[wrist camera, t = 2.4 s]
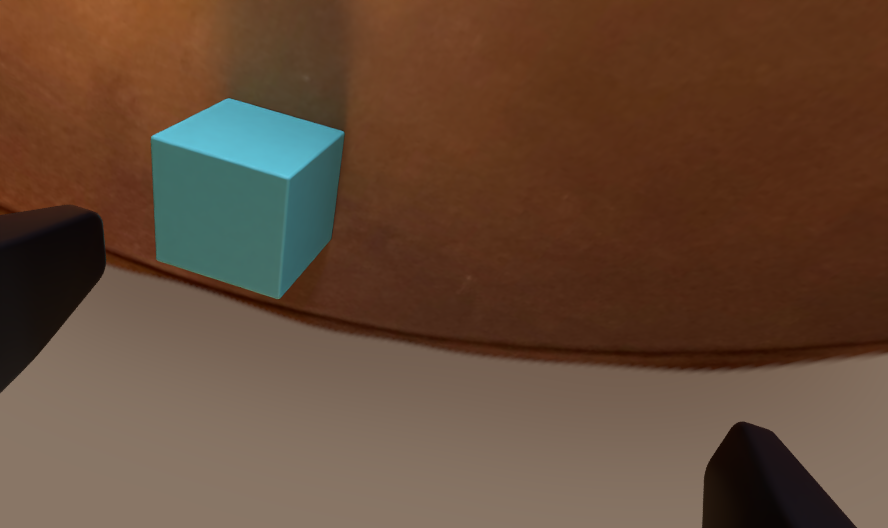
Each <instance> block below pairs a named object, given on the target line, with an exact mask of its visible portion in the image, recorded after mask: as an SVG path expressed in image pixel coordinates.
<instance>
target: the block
mask: <svg viewBox="0 0 888 528" xmlns="http://www.w3.org/2000/svg"><path fill="white" fill-rule="evenodd" d="M344 135H345V134H344V132H343V131H340V130H337V129H334V128H330V127H327V126H323V125H320V124H316V123H313V122H309V121H306V120H303V119H299V118H296V117H292V116H289V115H285V114H282V113H279V112H275V111H272V110H268V109H265V108H261V107H258V106H254V105H251V104H248V103H244V102H241V101H237V100H234V99H230V98H227V99H225V100H223V101H221V102H219V103H217V104H215V105H213V106H211V107H209V108H207V109H205V110H203V111H201V112H199V113H197V114H195V115H193V116H191V117H189V118H187V119H185V120H183V121H181V122H179V123H177V124H175V125H173V126H171V127H169V128H167V129H165V130H163V131H161V132H159V133H157V134H155V135H153V136H152V137H151V154H152V176H153V197H154V219H155V241H156V259H157V260H158V261H160V262H164V263H167V264H170V265H173V266H176V267H179V268H182V269H185V270H188V271H192V272H195V273H198V274H201V275H204V276H207V277H210V278H213V279H216V280H219V281H223V282H226V283H229V284H232V285H235V286H238V287H241V288H244V289H247V290H250V291H254V292H257V293H260V294H263V295H266V296H269V297H272V298H275V299H280V298H281V297H282V296H283V295H284V293H285V292H286V291H287V290H288V289H289V288H290V286H291V285H292V284H293V283H294V282H295V281H296V279H297V278H298V277H299V276H300V275H301V274H302V272H303V271H304V270H305V269H306V268H307V267H308V266H309V264H310V263H311V262H312V261H313V260H314V259H315V257H316V256H317V255H318V254H319V253H320V252H321V250H322V249H323V248H324V247H325V246H326V245H327V243H328V242H329V241H330V240H331V238H332V230H333V222H334V214H335V206H336V198H337V190H338V182H339V174H340V166H341V158H342V150H343V142H344Z"/></svg>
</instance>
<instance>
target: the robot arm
mask: <svg viewBox="0 0 888 528" xmlns="http://www.w3.org/2000/svg"><path fill="white" fill-rule="evenodd" d="M105 266H106V253H105V242H104V230H103V222H102V219H101V217H100V216H99V215H98V214H97V213H96V212H93V211H90V210H87V209H84V208H81V207H78V206H75V205H61V206H55V207H49V208H43V209H36V210H30V211H24V212H18V213H12V214H5V215H0V393H1V392H2V391H3V390H4V389H5V388H6V387H7V386H8V385H9V384H10V383H11V382H12V381H13V380H14V379H15V378H16V377H17V376H18V375H19V374H20V373H21V372H22V371H23V370H24V369H25V368H26V367H27V366H28V365H29V364H30V362H32V361H33V360H34V358H35V357H36V356H37V355H38V354H39V353H40V351H41V350H42V349H43V348H44V347H45V346H46V345H47V343H48V342H49V341H50V339H51V338H52V337H53V336H54V335H55V334H56V332H57V331H58V330H59V329H60V327H61V326H62V325H63V324H64V323H65V321H66V320H67V319H68V317H69V316H70V315H71V314H72V313H73V312H74V310H75V309H76V308H77V307H78V305H79V304H80V303H81V302H82V300H83V299H84V298H85V297H86V295H87V294H88V293H89V292H90V291H91V289H92V288H93V287H94V286H95V285H96V283H97V282H98V281H99V280H100V278H101V276H102V274H103V273H104V270H105ZM702 528H857V527H856V526H855V525H854V524H853V523H852V522H851V521H850V519H849V518H848V517H847V516H846V515H845V514H844V512H842V510H841V509H840V508H839V507H838V506H837V504H836V503H835V502H834V501H833V500H832V499H831V498H830V496H829V495H828V494H827V493H826V492H825V491H824V490H823V488H822V487H821V486H820V485H819V484H818V483H817V482H816V480H815V479H814V478H813V477H812V476H811V475H810V474H809V473H808V471H807V470H806V469H805V468H804V467H803V466H802V464H801V463H800V462H799V461H798V460H797V459H796V458H795V457H794V455H793V454H792V453H791V452H790V451H789V450H788V448H787V447H786V446H785V445H784V444H783V443H782V442H781V440H780V439H779V438H778V437H777V436H776V435H775V434H774V433H773V432H772V431H770V430H768V429H765V428H762V427H759V426H756V425H753V424H750V423H746V422H738V423H736V424H735V425H734V426H733V427H732V428H731V429H730V431H729V432H728V434H727V435H726V437H725V438H724V440H723V441H722V443H721V444H720V446H719V447H718V449H717V450H716V452H715V453H714V455H713V456H712V458H711V459H710V461H709V463H708V465H707V467H706V471H705V476H704V494H703V522H702Z"/></svg>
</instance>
